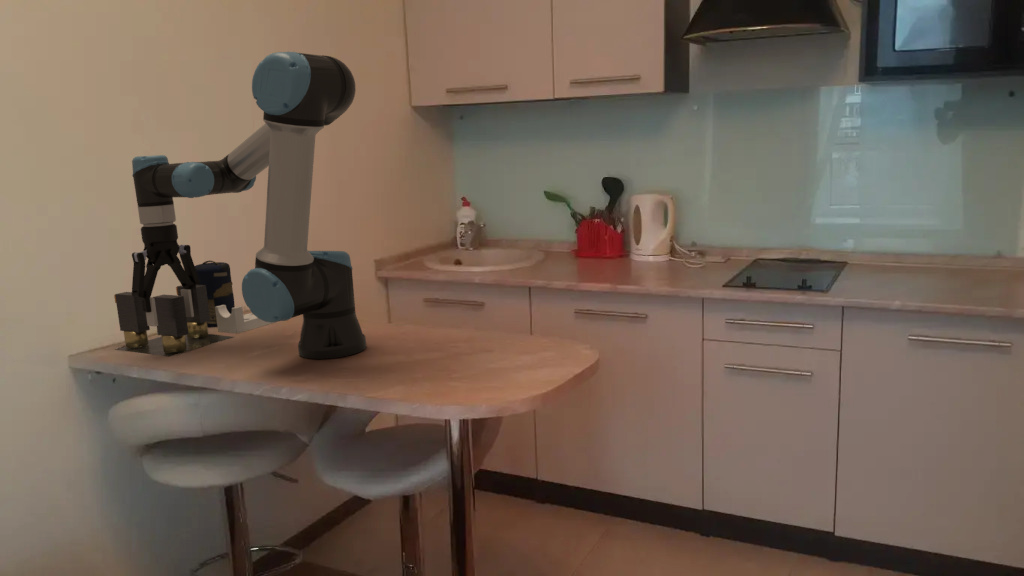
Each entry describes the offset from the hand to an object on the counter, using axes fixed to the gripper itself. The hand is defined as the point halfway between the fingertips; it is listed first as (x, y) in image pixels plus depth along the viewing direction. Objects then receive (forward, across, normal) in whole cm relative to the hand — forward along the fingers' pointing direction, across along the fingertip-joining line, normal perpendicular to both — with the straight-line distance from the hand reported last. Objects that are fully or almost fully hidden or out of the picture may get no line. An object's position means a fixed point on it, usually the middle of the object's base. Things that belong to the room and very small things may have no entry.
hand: (171, 321), depth 184 cm
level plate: (+8, -6, -7) cm, 12 cm away
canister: (+8, -25, -15) cm, 30 cm away
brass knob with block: (+7, 0, -14) cm, 16 cm away
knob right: (+7, -12, -7) cm, 16 cm away
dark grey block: (+7, 0, 0) cm, 7 cm away
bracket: (+8, -24, -3) cm, 26 cm away
